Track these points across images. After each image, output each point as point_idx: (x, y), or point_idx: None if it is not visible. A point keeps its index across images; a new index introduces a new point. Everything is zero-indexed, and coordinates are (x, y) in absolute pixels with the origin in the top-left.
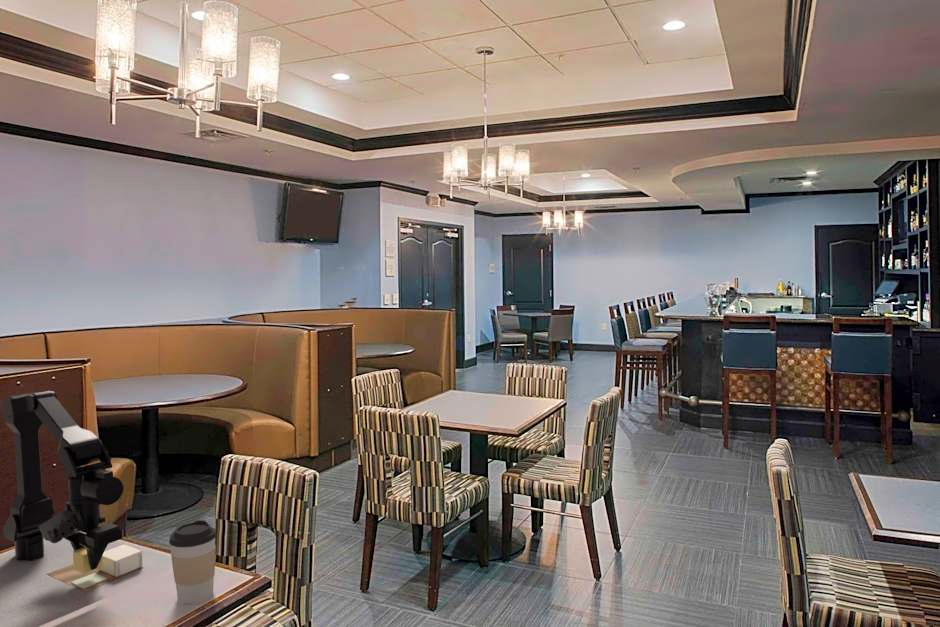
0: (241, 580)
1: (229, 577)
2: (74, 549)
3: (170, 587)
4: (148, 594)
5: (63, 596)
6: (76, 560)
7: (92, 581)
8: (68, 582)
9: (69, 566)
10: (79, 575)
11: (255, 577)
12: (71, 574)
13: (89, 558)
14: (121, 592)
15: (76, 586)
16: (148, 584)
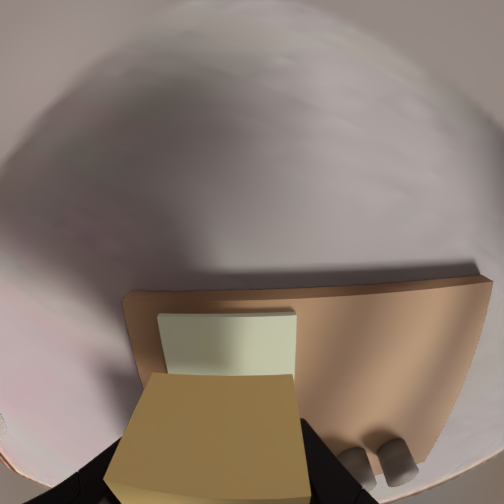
0: (11, 461)
1: (29, 470)
2: (351, 501)
3: (34, 427)
4: (21, 388)
5: (227, 229)
6: (240, 436)
7: (197, 373)
8: (320, 307)
9: (461, 367)
10: (348, 370)
11: (14, 470)
12: (394, 351)
13: (99, 467)
14: (73, 373)
15: (227, 309)
16: (81, 430)
